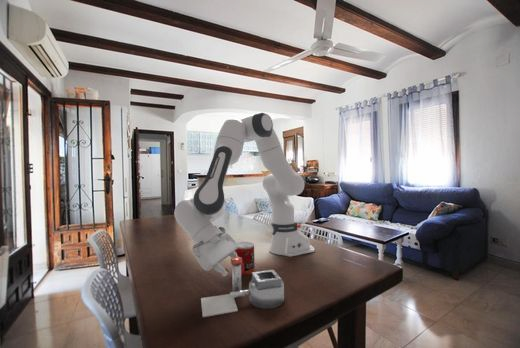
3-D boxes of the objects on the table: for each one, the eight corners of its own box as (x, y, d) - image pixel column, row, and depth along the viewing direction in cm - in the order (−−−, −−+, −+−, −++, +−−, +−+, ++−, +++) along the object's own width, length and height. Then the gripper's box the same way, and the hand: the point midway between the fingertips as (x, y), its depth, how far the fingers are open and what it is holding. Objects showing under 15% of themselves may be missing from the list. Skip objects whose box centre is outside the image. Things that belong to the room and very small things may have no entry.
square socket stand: (277, 288, 86) (276, 266, 86) (289, 305, 75) (289, 280, 75) (227, 296, 81) (227, 273, 81) (233, 315, 71) (233, 288, 71)
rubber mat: (232, 294, 82) (232, 293, 82) (237, 311, 73) (237, 309, 73) (201, 299, 80) (201, 298, 80) (202, 317, 70) (202, 315, 70)
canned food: (247, 277, 95) (247, 248, 95) (231, 272, 100) (230, 245, 99) (258, 270, 102) (257, 243, 102) (242, 266, 106) (242, 240, 106)
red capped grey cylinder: (241, 287, 87) (240, 256, 87) (243, 292, 83) (243, 260, 83) (230, 289, 86) (230, 257, 86) (232, 294, 82) (231, 261, 82)
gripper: (195, 240, 77) (224, 275, 74) (226, 226, 97) (250, 253, 94) (184, 253, 79) (211, 288, 76) (216, 236, 98) (239, 264, 95)
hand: (233, 269), depth 85 cm, fingers open, 8 cm apart
